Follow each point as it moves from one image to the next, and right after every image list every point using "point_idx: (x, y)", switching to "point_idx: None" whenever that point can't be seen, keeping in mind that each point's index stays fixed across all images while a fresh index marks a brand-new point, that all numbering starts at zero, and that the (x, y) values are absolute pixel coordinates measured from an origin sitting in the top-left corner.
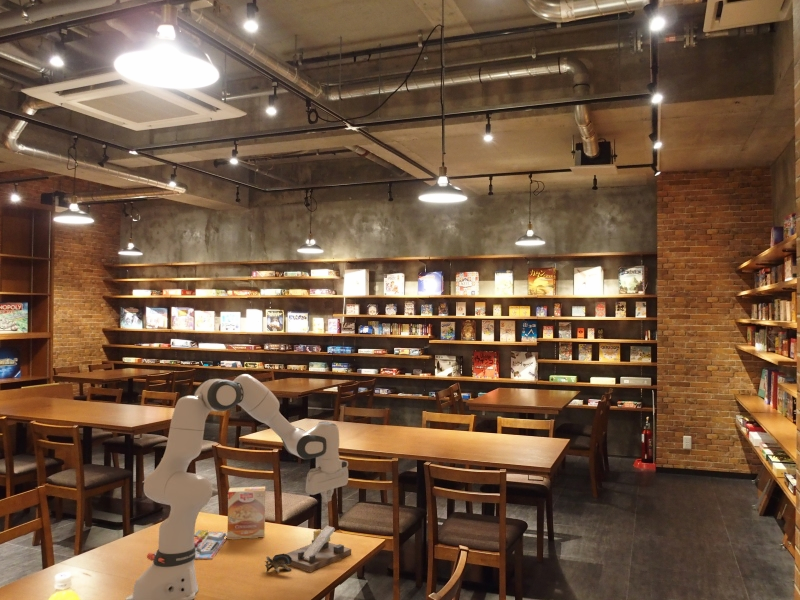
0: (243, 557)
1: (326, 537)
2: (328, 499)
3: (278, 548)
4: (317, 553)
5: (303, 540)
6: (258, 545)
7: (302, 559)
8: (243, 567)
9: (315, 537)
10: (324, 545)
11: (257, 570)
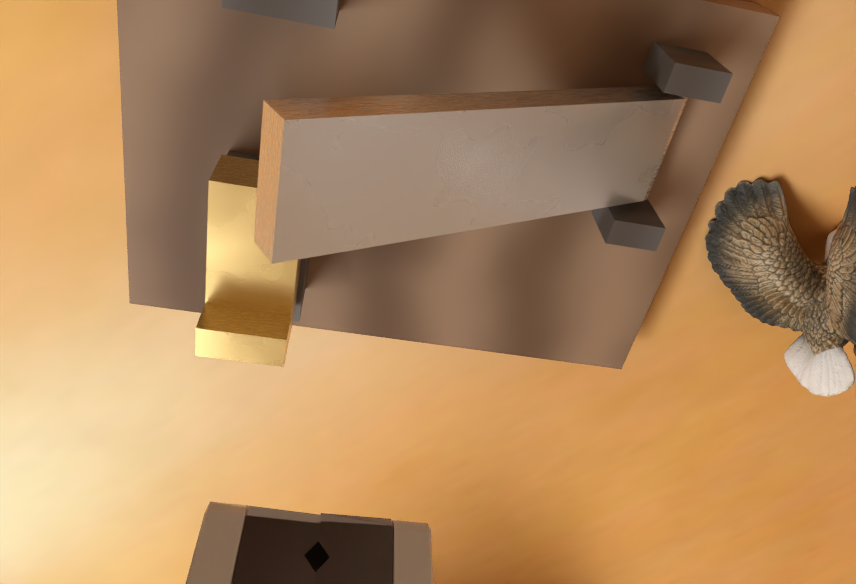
0: (617, 532)
1: (451, 110)
2: (329, 564)
3: (386, 470)
4: None
5: (151, 429)
6: None
7: None
8: (772, 455)
9: (293, 305)
10: None
11: None
